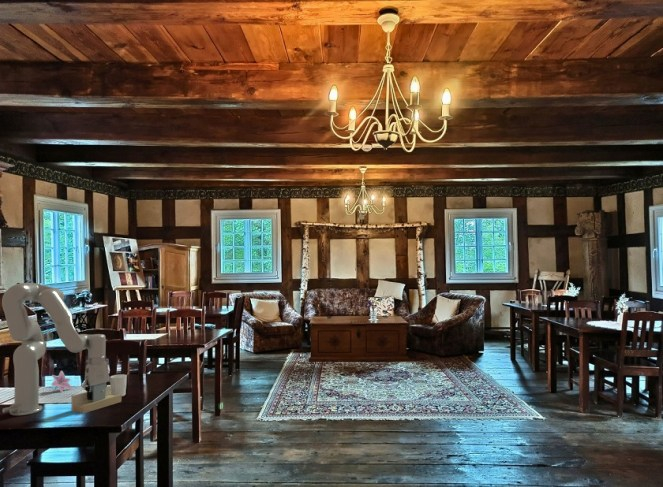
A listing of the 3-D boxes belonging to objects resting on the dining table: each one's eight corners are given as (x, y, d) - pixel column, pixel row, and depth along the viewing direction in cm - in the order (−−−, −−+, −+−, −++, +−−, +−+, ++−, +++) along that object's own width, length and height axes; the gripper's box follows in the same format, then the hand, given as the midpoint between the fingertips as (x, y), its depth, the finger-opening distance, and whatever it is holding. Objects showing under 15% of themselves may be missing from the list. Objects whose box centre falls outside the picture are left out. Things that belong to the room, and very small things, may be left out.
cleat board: (83, 413, 214) (83, 397, 214) (71, 410, 218) (71, 395, 219) (121, 401, 232) (121, 387, 232) (109, 399, 236) (109, 385, 236)
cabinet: (94, 402, 221) (94, 385, 221) (87, 400, 224) (87, 384, 224) (106, 398, 226) (106, 382, 227) (98, 397, 229) (99, 381, 230)
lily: (46, 396, 247) (55, 380, 247) (41, 384, 255) (50, 369, 255) (69, 398, 256) (78, 383, 256) (64, 386, 264) (72, 372, 264)
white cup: (108, 398, 238) (108, 378, 239) (111, 394, 246) (111, 375, 246) (125, 396, 240) (125, 377, 241) (127, 392, 248) (127, 373, 249)
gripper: (85, 364, 217) (84, 403, 216) (117, 357, 232) (117, 394, 231) (74, 362, 220) (74, 401, 219) (107, 356, 235) (107, 392, 235)
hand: (96, 397), depth 225 cm, fingers closed on cabinet, 6 cm apart
